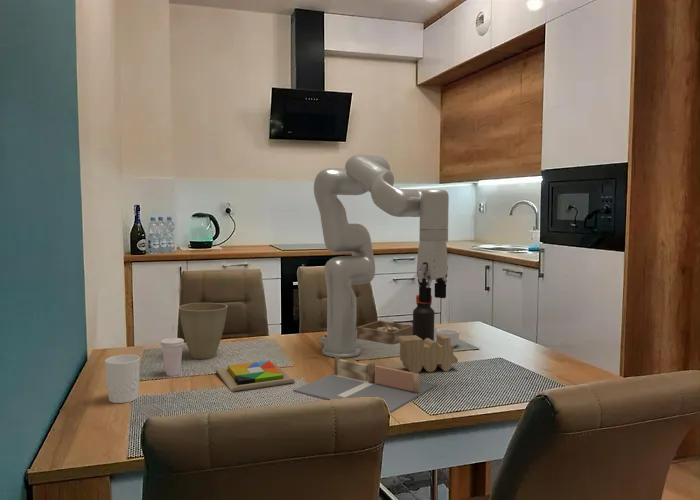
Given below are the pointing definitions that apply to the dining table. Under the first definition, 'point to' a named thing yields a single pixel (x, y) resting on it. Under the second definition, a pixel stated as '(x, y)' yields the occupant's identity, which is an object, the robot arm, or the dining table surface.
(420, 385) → the card
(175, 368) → the smoothie
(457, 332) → the teacup
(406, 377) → the hinged fence panel
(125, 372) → the white cup
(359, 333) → the tray
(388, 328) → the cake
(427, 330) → the bottle
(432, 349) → the toy train
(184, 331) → the plant pot
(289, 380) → the wooden puzzle
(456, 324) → the dining table surface
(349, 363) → the fixed fence panel
